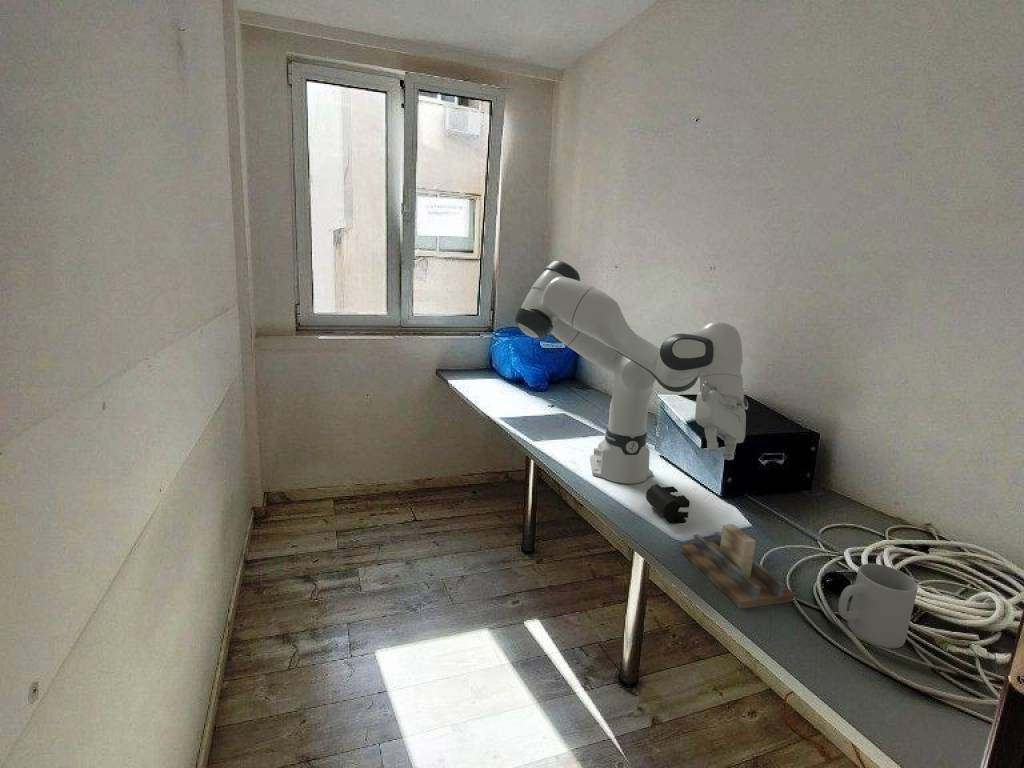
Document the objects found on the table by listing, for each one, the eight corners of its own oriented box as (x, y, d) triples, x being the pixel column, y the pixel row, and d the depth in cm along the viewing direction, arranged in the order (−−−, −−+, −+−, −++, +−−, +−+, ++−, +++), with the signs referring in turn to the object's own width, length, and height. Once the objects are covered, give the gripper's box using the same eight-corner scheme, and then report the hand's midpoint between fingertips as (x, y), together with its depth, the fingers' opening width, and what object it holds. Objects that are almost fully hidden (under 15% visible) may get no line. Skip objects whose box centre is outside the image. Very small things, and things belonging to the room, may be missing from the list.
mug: (878, 614, 95) (890, 562, 93) (917, 648, 87) (932, 591, 84) (818, 616, 94) (828, 563, 92) (852, 650, 86) (865, 593, 83)
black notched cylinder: (644, 507, 135) (646, 483, 134) (668, 506, 137) (671, 482, 135) (661, 526, 126) (664, 500, 124) (688, 524, 127) (691, 499, 125)
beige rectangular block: (718, 559, 109) (723, 525, 107) (728, 557, 110) (732, 524, 108) (740, 578, 102) (745, 542, 101) (750, 576, 103) (755, 541, 101)
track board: (681, 551, 114) (683, 535, 113) (727, 546, 117) (729, 530, 116) (740, 608, 95) (743, 590, 94) (793, 600, 98) (797, 582, 97)
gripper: (718, 377, 103) (718, 443, 99) (750, 404, 118) (751, 463, 114) (688, 380, 108) (686, 444, 104) (722, 406, 122) (722, 464, 118)
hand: (720, 455), depth 109 cm, fingers open, 8 cm apart
